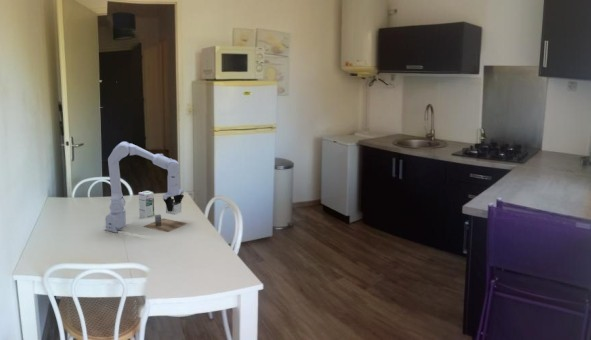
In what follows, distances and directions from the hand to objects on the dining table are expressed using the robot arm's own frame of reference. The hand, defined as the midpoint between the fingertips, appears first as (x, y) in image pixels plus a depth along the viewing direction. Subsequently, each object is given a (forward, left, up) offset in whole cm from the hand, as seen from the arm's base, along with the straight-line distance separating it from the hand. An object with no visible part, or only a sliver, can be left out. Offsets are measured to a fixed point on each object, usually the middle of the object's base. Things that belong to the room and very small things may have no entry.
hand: (173, 209), depth 248 cm
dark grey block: (-5, +6, -8) cm, 11 cm away
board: (-3, +3, -9) cm, 10 cm away
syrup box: (+5, +22, -10) cm, 25 cm away
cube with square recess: (0, 0, -2) cm, 2 cm away
